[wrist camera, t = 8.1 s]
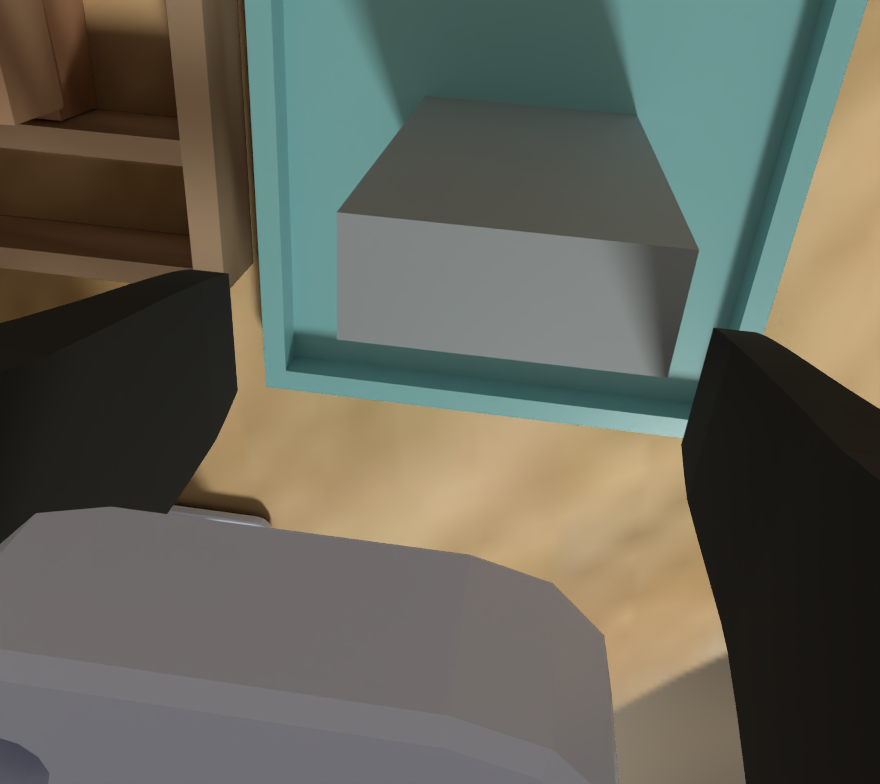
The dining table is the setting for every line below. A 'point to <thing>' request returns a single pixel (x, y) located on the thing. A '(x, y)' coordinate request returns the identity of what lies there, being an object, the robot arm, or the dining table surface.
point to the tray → (547, 85)
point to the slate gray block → (517, 240)
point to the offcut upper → (26, 63)
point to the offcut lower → (70, 57)
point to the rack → (161, 142)
